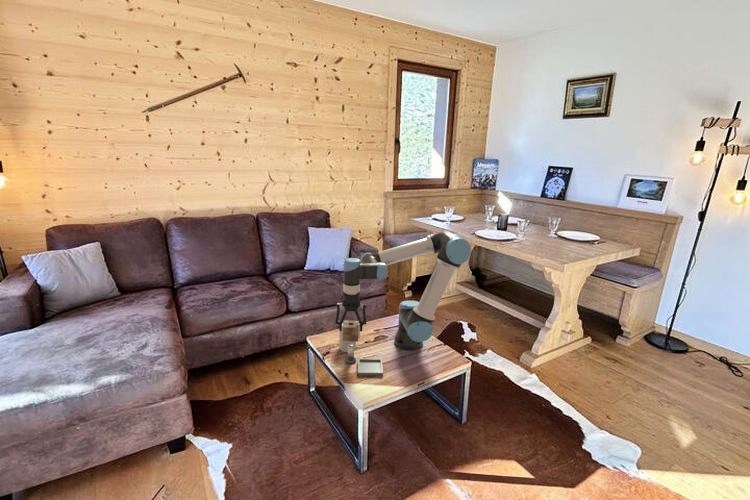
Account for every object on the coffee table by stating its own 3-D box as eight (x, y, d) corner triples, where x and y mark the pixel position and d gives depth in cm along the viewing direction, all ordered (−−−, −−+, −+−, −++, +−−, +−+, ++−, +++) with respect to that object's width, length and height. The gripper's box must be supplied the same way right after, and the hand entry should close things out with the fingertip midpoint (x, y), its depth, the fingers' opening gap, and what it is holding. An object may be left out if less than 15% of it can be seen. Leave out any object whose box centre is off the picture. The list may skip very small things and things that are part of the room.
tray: (381, 362, 182) (381, 358, 181) (382, 376, 171) (383, 372, 170) (358, 361, 181) (358, 358, 181) (357, 375, 170) (357, 372, 170)
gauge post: (356, 358, 184) (356, 342, 182) (355, 364, 179) (356, 348, 177) (345, 358, 184) (345, 342, 182) (345, 363, 179) (345, 348, 177)
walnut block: (358, 333, 182) (358, 320, 180) (357, 341, 175) (358, 327, 173) (343, 333, 181) (343, 320, 180) (342, 340, 175) (343, 327, 173)
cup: (353, 353, 189) (353, 331, 185) (337, 351, 190) (337, 329, 187) (357, 344, 196) (357, 324, 193) (342, 342, 198) (342, 322, 194)
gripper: (373, 289, 176) (371, 333, 182) (330, 288, 175) (330, 332, 181) (373, 295, 169) (371, 341, 175) (328, 294, 168) (328, 340, 174)
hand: (350, 336), depth 178 cm, fingers closed on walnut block, 7 cm apart
